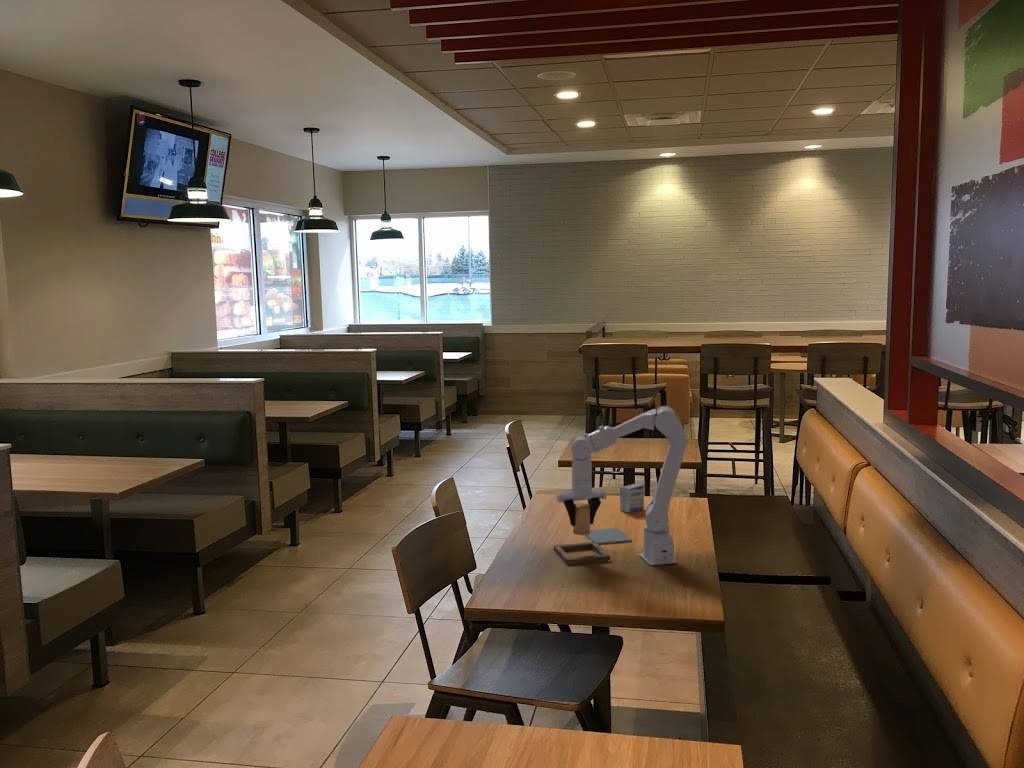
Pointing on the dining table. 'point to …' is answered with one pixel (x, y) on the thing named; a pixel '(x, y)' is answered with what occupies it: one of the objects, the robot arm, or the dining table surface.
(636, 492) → the medicine box
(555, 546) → the frame
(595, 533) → the rubber mat
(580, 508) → the terracotta cylinder
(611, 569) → the dining table surface
